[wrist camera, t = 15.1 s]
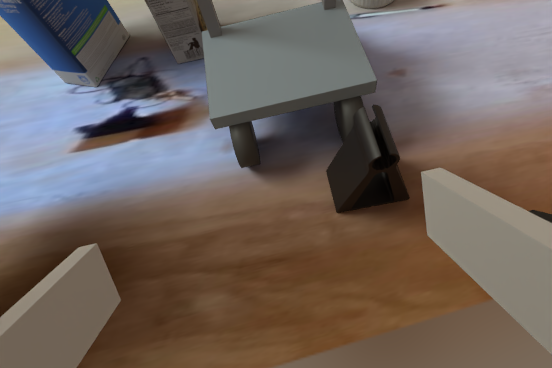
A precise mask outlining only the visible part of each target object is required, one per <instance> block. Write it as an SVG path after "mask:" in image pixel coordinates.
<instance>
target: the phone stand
mask: <svg viewBox="0 0 552 368" xmlns="http://www.w3.org/2000/svg"><path fill="white" fill-rule="evenodd" d="M372 108H373V111H374V113H375V116H376V118H375V119H374V120H372V122H369V119H368V116H367V113H366V110H365V108H364V107H362V108H360V109H359V110H358V111H357V112H356V113H355V114H354V116H353V121H354V124H353V127H352V129H351V131H350V133H349V134H348V136H347V138H346V139H345V141H344V143H343V144H342V146H341V147H340V149H339V151H338V152H337V154H336V156H335V157H334V159H333V161H332V162H331V164H330V166H329V167H328V169H327V171H326V172H327V176H328V180H329V184H330V188H331V192H332V196H333V200H334V204H335V208H336V212H337V213H340V212H346V211H351V210H356V209H361V208H367V207H371V206H377V205H382V204H388V203H393V202H398V201H403V200H408V199H409V195H408V192H407V189H406V187H405V184H404V181H403V179H402V176H401V173H400V171H399V168H398V165H397V163H398V162H399V160H400V156H399V154H398V151H397V149H396V146H395V143H394V141H393V138H392V135H391V133H390V130H389V127H388V125H387V122H386V120H385V117H384V114H383V112H382V109H381V107H380V106H378V105H373V106H372Z"/></svg>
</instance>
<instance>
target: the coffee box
mask: <svg viewBox="0 0 552 368" xmlns="http://www.w3.org/2000/svg"><path fill="white" fill-rule="evenodd" d="M145 2H146V4H147V6H148V7H149V9H150V11H151V13H152V15H153V17H154V19H155V21H156V23H157V25H158V27H159V29H160V31H161V32H162V34H163V36H164V38H165V40H166V42H167V44H168V46H169V48H170V50H171V52H172V54H173V56H174V58H175V59H176V61H177V63H178V64H180V63H184V62H189V61H193V60H198V59H202V58H204V51H203V41H202V31H206V30H208V29H207V27H206V24H205V21H204V19H203V16H202V13H201V11H200V8H199V5H198V3H197V0H145Z"/></svg>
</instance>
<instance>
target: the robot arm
mask: <svg viewBox="0 0 552 368" xmlns="http://www.w3.org/2000/svg"><path fill="white" fill-rule="evenodd" d="M421 177H422V187H423V197H424V207H425V217H426V227H427V235H428V236H429V237H430V238H431V239H432V240H433V241H434V242H435V243H436V244H437V245H438V246H439V247H440V248H441V249H442V250H443V251H444V252H445V253H446V254H447V255H449V256H450V257H451V258H452V259H453V260H454V261H455V262H456V263H457V264H458V265H459V266H460V267H461V268H462V269H463V270H464V271H465V272H466V273H467V274H468V275H469V276H470V277H471V278H472V279H473V280H475V281H476V282H477V283H478V284H479V285H480V286H481V287H482V288H483V289H484V290H485V291H486V292H487V293H488V294H489V295H490V296H491V297H492V298H493V299H494V300H495V301H497V303H498V304H499V305H500V306H502V307H503V308H504V309H505V310H506V311H507V312H508V313H509V314H510V315H511V316H512V317H513V318H514V319H515V320H516V321H517V322H518V323H519V324H520V325H521V326H523V328H524V329H525V330H526V331H528V332H529V333H530V334H531V335H532V336H533V337H534V338H535V339H536V340H537V341H538V342H539V343H540V344H541V345H542V346H543V347H544V348H545V349H546V350H547V351H548V352H549V353H550V354H551V355H552V214H548V213H544V212H540V211H536V210H531V211H526V210H524V209H522V208H520V207H518V206H516V205H514V204H512V203H510V202H508V201H507V200H505V199H503V198H501V197H499V196H497V195H495V194H493V193H491V192H489V191H487V190H485V189H483V188H481V187H479V186H477V185H475V184H473V183H471V182H469V181H467V180H465V179H463V178H461V177H459V176H457V175H455V174H453V173H451V172H449V171H447V170H445V169H443V168H436V169H432V170H427V171H423V172H421ZM120 301H121V299H120V296H119V294H118V292H117V289H116V287H115V285H114V282H113V280H112V278H111V275H110V273H109V270H108V268H107V266H106V263H105V261H104V259H103V256H102V254H101V252H100V249H99V247H98V245H97V243H95V244H91V245H86V246H82V247H78V248H77V249H76V250H75V251H74V252H73V253H72V254H71V255H69V256H68V257H67V258H66V259H65V260H64V261H63V262H62V263H60V264H59V265H58V266H57V267H56V268H55V269H54V270H53V271H51V272H50V273H49V274H48V275H47V276H46V277H45V278H44V279H43V280H41V281H40V282H39V283H38V284H37V285H36V286H35V287H34V288H32V289H31V290H30V291H29V292H28V293H27V294H26V295H25V296H23V297H22V298H21V299H20V300H19V301H18V302H17V303H16V304H14V305H13V306H12V307H11V308H10V309H9V310H8V311H7V312H6V313H4V314H3V315H2V316H1V317H0V368H77V366H78V365H79V363H80V362H81V360H82V359H83V357H84V356H85V354H86V353H87V351H88V350H89V348H90V347H91V345H92V344H93V342H94V341H95V339H96V338H97V336H98V334H99V333H100V331H101V330H102V328H103V327H104V325H105V324H106V322H107V321H108V319H109V318H110V316H111V315H112V313H113V312H114V310H115V309H116V307H117V306H118V304H119V303H120Z"/></svg>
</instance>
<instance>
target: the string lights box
mask: <svg viewBox="0 0 552 368" xmlns="http://www.w3.org/2000/svg"><path fill="white" fill-rule="evenodd" d="M0 16H1V17H2V18H3V19H4V20H5V21H6V22H7V23H8V24H9V25H10V26H11V27H12V28H13V29H14V30H15V31H16V32H17V33H18V34H19V35H20V36H21V37H22V38H23V39H24V40H25V42H26V43H27V44H28V45H29V46H30V47H31V48H32V49H33V50H34V51H35V52H36V53H37V54H38V55H39V56H40V57H41V58H42V59H43V60H44V61H45V62H46V63H47V64H48V65H49V66H50V67H51V69H52V70H53V71H54V72H55V73H56V74H57V75H58V76H59V77H60V78H61V79H62V80H63V81H64V82H65V83H71V84H78V85H84V86H91V87H97V86H98V85H99V83H100V82H101V80H102V78H103V77H104V75H105V74H106V72H107V71H108V69H109V67H110V66H111V64H112V63H113V61H114V60H115V58H116V56H117V55H118V53H119V52H120V50H121V49H122V47H123V45H124V44H125V42H126V41H127V39H128V38H129V34H128V32H127V31H126V29H125V28H124V26H123V24H122V23H121V21H120V20H119V18H118V17H117V15H116V13H115V12H114V10H113V9H112V7H111V6H110V4H109V2H108V1H107V0H0Z"/></svg>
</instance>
